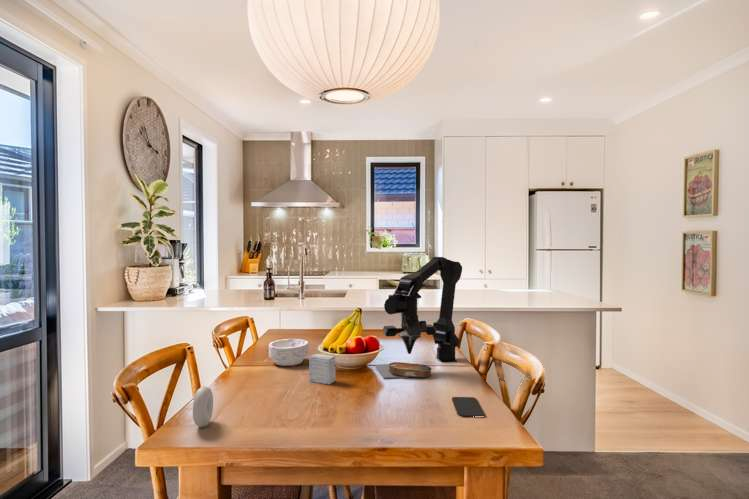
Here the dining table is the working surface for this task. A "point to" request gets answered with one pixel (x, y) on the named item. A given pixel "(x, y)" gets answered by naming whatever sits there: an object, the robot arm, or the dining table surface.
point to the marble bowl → (288, 351)
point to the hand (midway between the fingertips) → (409, 353)
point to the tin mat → (387, 372)
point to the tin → (409, 369)
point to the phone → (467, 406)
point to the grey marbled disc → (203, 406)
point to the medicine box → (322, 368)
